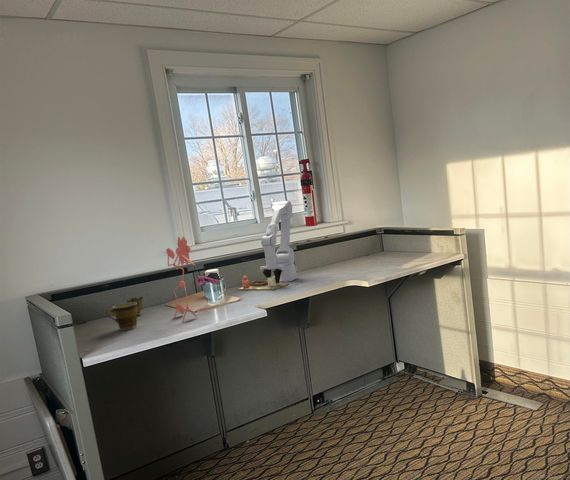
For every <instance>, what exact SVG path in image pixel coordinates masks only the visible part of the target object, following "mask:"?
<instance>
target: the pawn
mask: <svg viewBox="0 0 570 480" xmlns="http://www.w3.org/2000/svg"><path fill="white" fill-rule="evenodd" d="M241 282H242V287H243V288H249V282H250V281H249V278H248V276H247V275H243V276H242V279H241Z"/></svg>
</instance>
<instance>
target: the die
mask: <svg viewBox="0 0 570 480" xmlns="http://www.w3.org/2000/svg"><path fill="white" fill-rule="evenodd" d="M267 280H268V286H277V285H280V284H281V282H280V283H278V284H276V279H275V275H273V276H272V275H271V277H268V278H267V279H266V281H267Z"/></svg>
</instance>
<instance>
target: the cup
mask: <svg viewBox="0 0 570 480" xmlns="http://www.w3.org/2000/svg"><path fill="white" fill-rule="evenodd" d="M128 302H136V303H137V317H138V316H140V315H142V311H143V309H144V297H143V296H139V297H131V298H129V299H126V303H128Z"/></svg>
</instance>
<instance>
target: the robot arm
mask: <svg viewBox="0 0 570 480" xmlns="http://www.w3.org/2000/svg"><path fill="white" fill-rule="evenodd" d="M271 211H272V216H271V220H270V223H268V225H267V227H266V231H265V234H264V235H263V236H261V239H260V244H261V245H262V246H261V247H262V249H263V250H264V251H263V252H264V257H265V258H264V259H265V265H261V266H259V270H260V271H262V273H263V275H264V278H266V281H268V280H267V278H268V277H271V276H272V272H273V274H274V275H273V276H275V279H276V284H278V283H280V284H281V283H282V282H284V283H286V282H293V281H295V280H298V279H299V277H297V276H298V275H297V274H298V273H297V267H296V265H295V264H294V262H295V261H296V260H295V251H294V250H293V248H291V247H290V240H291V239H290V238H291V218H292V216H293V205H292V202H291V200H284V201H274V202H273V203H272V205H271ZM279 221H280V244H279V245H280V246H279V247H278V248H277V250H276V245H277V234H278V231H279V227H278V224H279Z"/></svg>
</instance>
